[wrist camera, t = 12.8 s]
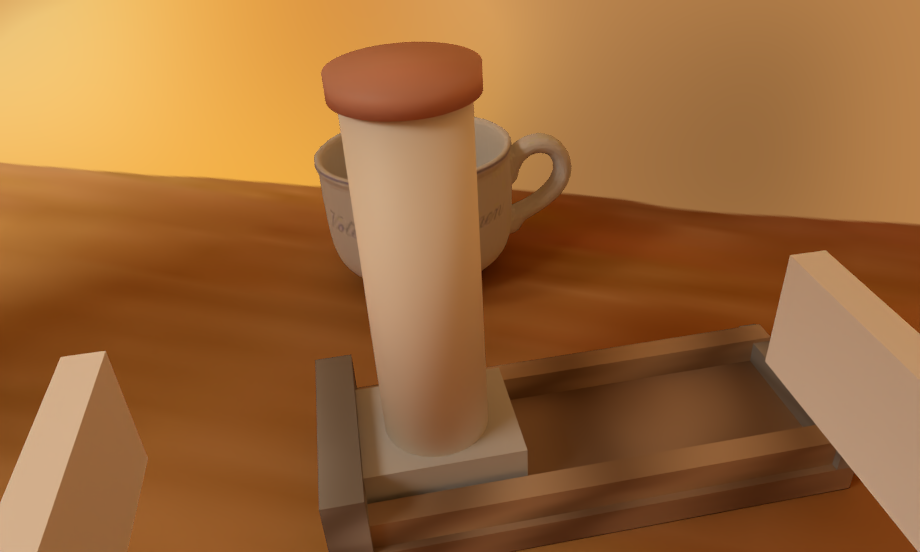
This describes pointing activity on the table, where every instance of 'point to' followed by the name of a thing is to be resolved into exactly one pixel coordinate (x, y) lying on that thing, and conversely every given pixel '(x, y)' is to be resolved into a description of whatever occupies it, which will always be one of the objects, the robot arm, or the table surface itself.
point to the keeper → (421, 270)
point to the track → (595, 449)
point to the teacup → (493, 185)
